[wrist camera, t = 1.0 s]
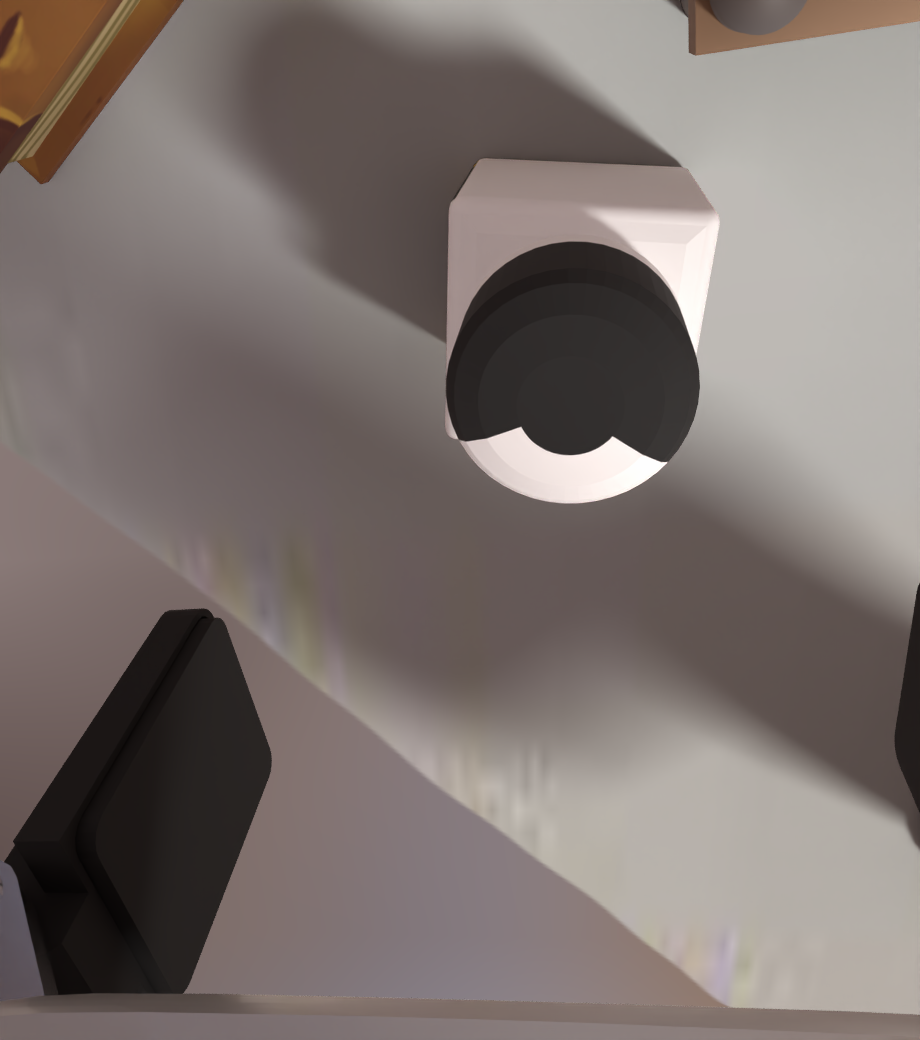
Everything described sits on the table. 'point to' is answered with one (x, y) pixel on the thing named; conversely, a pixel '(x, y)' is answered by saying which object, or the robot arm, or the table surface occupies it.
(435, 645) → the table surface
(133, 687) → the robot arm
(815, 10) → the shelf stand
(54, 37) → the diary
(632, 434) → the medicine bottle
